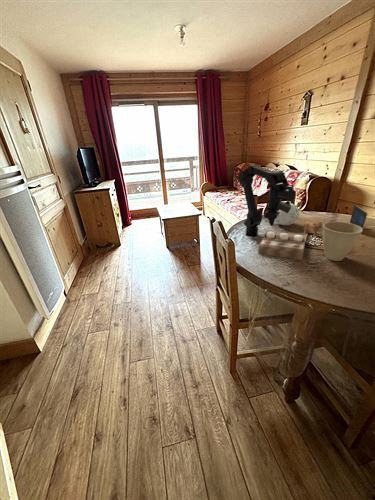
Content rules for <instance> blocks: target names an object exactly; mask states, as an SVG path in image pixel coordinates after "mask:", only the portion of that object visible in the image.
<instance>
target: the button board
mask: <svg viewBox="0 0 375 500" xmlns="http://www.w3.org/2000/svg"><path fill="white" fill-rule="evenodd" d="M267 232H275V239H273V238H266V236H267ZM281 233H285V232H282V231H275V230H273V231H272V230H266V231H265V233H264V235H263V237H262V238H261V241H260V243H259V244H258V252H257V253H258V254H262V255H269V256H274V257H275V256H276V257H281V258H286V259H287V258H288V259H293V260H300V261H303V256H304V252H305V246H306V245H305V244H306V239H307V235H306V234H301V233H293V232H292V233H291V232H286V233H287V234H289V237H288V240H281V239H280V234H281ZM294 235H302V236H303V241H302V242H297V241H293V239H294Z"/></svg>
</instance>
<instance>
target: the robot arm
mask: <svg viewBox="0 0 375 500" xmlns="http://www.w3.org/2000/svg"><path fill="white" fill-rule="evenodd" d="M256 176H258V177H261V178H262V179H265V180H266V183H268V185H267V186H266V188H267V189H269V191H268V192H269V194H268V199H267V203H268V205H267V208H266V211H265V212H264V213H263V214H262V211H261V210H259V209H257V203H256V199H255V194H254V191H253V190H254V189H253V183H254V177H256ZM237 180H238V183H239V185H240V186H241V187H242V188H243V192H244V193H243V194H244V197H245V201H246V206H247V214H246V220H245V221H243V226H245V227H246V228H245V229H246V230H245V236H248V237H257V235H258V234H259V226H260V225H261V223H262V221H263V218H264V219H267V220H268V222H269V225H270V227H273V226H274V223H275V222H276V218H277V216H278V215H279V213H280V212H278V211H279V209H280V210H282V211H284V212H285V213H288V212H289V210H290V209H291V207H292V206H291V205H290V203H291V202H292V201H293V200H294V199H295V197H296V191H295V189H294V186H292V185H289V182H288V179H287V177H286V174H285V172H284V171H279V170H270V169H268V168H265V167H261V166H259V165H257V164H253V165H249V166H248V167H247V168H245V169H243V170H242V171H241V172H239V173H238V176H237ZM282 200H283V201H282ZM284 201H285V202H284Z"/></svg>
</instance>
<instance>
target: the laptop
mask: <svg viewBox="0 0 375 500" xmlns="http://www.w3.org/2000/svg"><path fill="white" fill-rule="evenodd" d="M351 213H352V214H351V217H350V219H349V220H350V221H349V223H351V224H355V225H357V226H359V227H361V228H362V232H361V234H362V233H363V229H364V226H365V223H366V220H367V217H368V212H367V211H365V210H363V208H361V207H359V206H358V205H356V204H354V205H353V209H352V212H351Z"/></svg>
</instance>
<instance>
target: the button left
mask: <svg viewBox="0 0 375 500" xmlns="http://www.w3.org/2000/svg"><path fill="white" fill-rule="evenodd" d="M266 232H267V231H266ZM275 232H276V231H275ZM275 232H267V236H266V238H273V239H275Z"/></svg>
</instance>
